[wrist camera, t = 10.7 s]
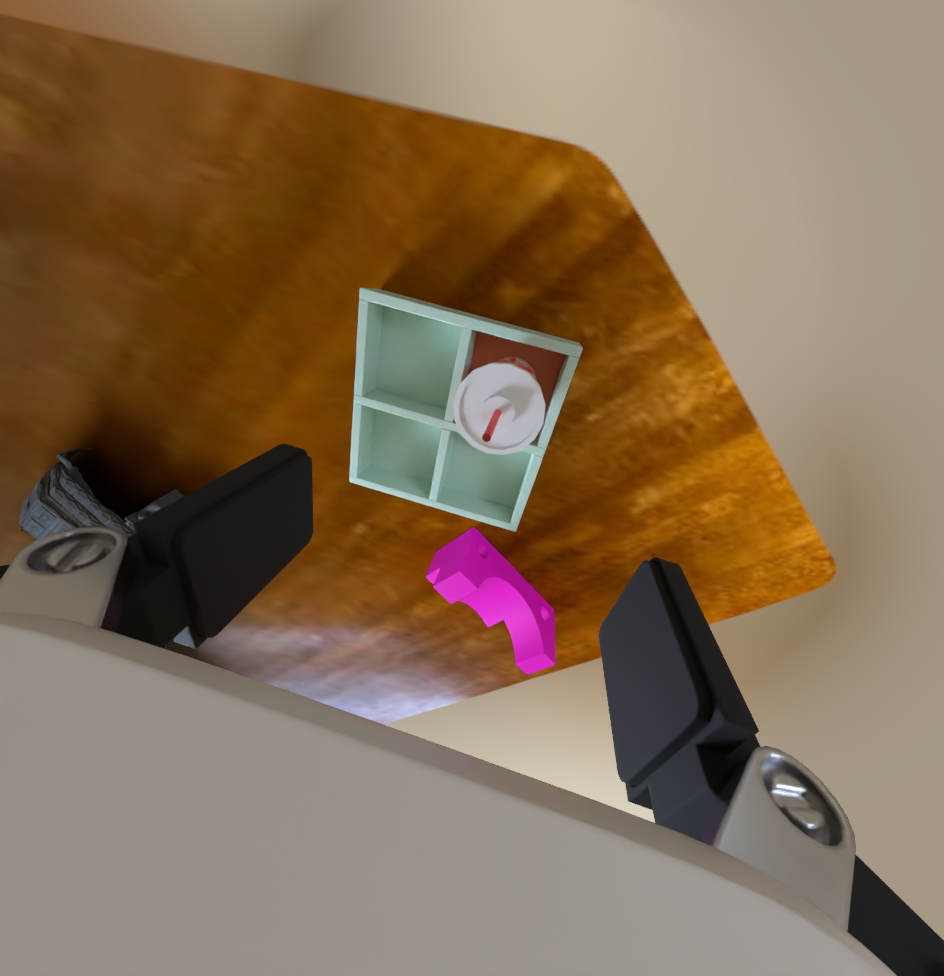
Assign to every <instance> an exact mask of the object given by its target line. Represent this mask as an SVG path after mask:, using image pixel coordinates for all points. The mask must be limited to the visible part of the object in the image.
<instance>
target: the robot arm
mask: <svg viewBox="0 0 944 976" xmlns="http://www.w3.org/2000/svg"><path fill="white" fill-rule="evenodd" d="M133 525H134V528H135V530H136V533H135V534H133V535H131V536H129V537H128V538H127V536H126V535H125V534H124V533H123V531H120V530H118V529H116V528H113V527H106V526H85V527H79V528H72V529H68V530H64V531H61V532H57V533H54V534H51V535H48V536H46V537H44V538H41V539H39V540H37V541H35V542H34V543H32V544H30V545H29V546H27V547H26V548H24V549H23V550H22V551H21V552H20V553H19V554H18V555H17V556H16V557H15V558H14V560H13V561H12V563H11V564H10V565H5V566H0V976H944V940H943V939H941V938H940V937H939V936H938V935H937V934H936V933H935V932H934V931H933V930H932V929H931V928H930V927H929V926H928V925H927V924H926V923H925V922H924V921H923V920H922V919H921V918H920V917H919V916H918V915H917V914H916V913H915V912H914V911H913V910H912V909H910V907H909V906H908V905H906V904H905V902H904V901H903V900H901V898H899V897H898V896H897V895H896V894H895V893H894V892H893V891H892V890H891V889H890V888H889V887H888V886H887V885H886V884H885V883H884V882H883V881H882V880H881V879H880V878H879V877H878V876H877V875H876V874H875V873H874V872H873V871H872V870H871V869H870V868H869V867H868V866H866V865H865V863H864V862H863V861H862V860H861V859H860V858H859V857H858V856H856V855H855V852H856V845H855V836H854V832H853V830H852V828H851V825H850V823H849V820H848V817H847V816H846V814H845V812H844V811H843V809H842V808H841V806H840V804H839V803H838V801H837V800H836V798H835V797H834V796H833V795H832V793H831V792H830V791H829V790H828V788H827V787H826V786H825V785H824V784H823V782H822V781H821V780H820V779H819V778H818V777H816V776H815V775H814V774H813V773H812V772H811V771H810V770H809V769H808V768H807V767H806V766H804V765H803V764H802V763H800V762H799V761H798V760H796V759H795V758H793V757H792V756H790V755H788V754H787V753H785V752H783V751H781V750H779V749H776V748H771V747H768V746H764V747H760V745H759V743H758V741H757V738H756V736H755V734H756V733H757V732H758V731H759V730H758V728H757V726H756V724H755V722H754V719H753V717H752V715H751V713H750V711H749V709H748V707H747V705H746V703H745V701H744V699H743V696H742V694H741V692H740V690H739V688H738V686H737V684H736V682H735V680H734V678H733V676H732V673H731V671H730V669H729V667H728V665H727V663H726V661H725V659H724V657H723V655H722V653H721V651H720V648H719V646H718V644H717V642H716V640H715V638H714V636H713V634H712V632H711V630H710V627H709V625H708V623H707V621H706V619H705V617H704V615H703V613H702V611H701V609H700V607H699V604H698V602H697V600H696V598H695V596H694V594H693V592H692V590H691V588H690V586H689V584H688V582H687V579H686V577H685V575H684V573H683V571H682V569H681V567H680V566H679V565H678V564H676V563H672V562H669V561H666V560H663V559H659V558H652V559H651V560H650V561H647V560H645V561H643V562H642V563H641V565H640V566H639V568H638V569H637V571H636V572H635V574H634V576H633V577H632V579H631V580H630V582H629V583H628V585H627V586H626V588H625V589H624V591H623V593H622V594H621V596H620V597H619V599H618V600H617V602H616V603H615V605H614V606H613V608H612V610H611V611H610V613H609V614H608V616H607V617H606V619H605V620H604V622H603V623H602V625H601V628H600V632H599V641H600V648H601V655H602V662H603V669H604V677H605V683H606V690H607V697H608V706H609V713H610V720H611V727H612V734H613V741H614V748H615V756H616V762H617V769H618V775H619V777H620V779H621V780H622V781H623V782H625V783H626V790H627V796H628V801H629V802H632V803H635V804H637V805H641V806H643V807H646V808H649V809H652V810H653V814H654V818H655V823H653V822H650V821H648V820H645V819H642V818H640V817H637V816H634V815H632V814H629V813H626V812H624V811H621V810H619V809H616V808H613V807H611V806H608V805H606V804H603V803H600V802H597V801H595V800H592V799H589V798H587V797H584V796H581V795H578V794H576V793H573V792H570V791H567V790H565V789H562V788H559V787H556V786H553V785H551V784H548V783H545V782H542V781H540V780H537V779H534V778H531V777H528V776H526V775H523V774H520V773H517V772H514V771H512V770H509V769H506V768H503V767H500V766H498V765H495V764H492V763H489V762H487V761H484V760H481V759H478V758H475V757H473V756H470V755H467V754H464V753H461V752H459V751H456V750H453V749H450V748H447V747H445V746H442V745H439V744H436V743H433V742H431V741H427V740H425V739H422V738H419V737H416V736H414V735H411V734H408V733H405V732H402V731H399V730H396V729H394V728H391V727H388V726H385V725H383V724H380V723H377V722H374V721H371V720H368V719H366V718H363V717H360V716H357V715H354V714H351V713H348V712H346V711H343V710H340V709H337V708H334V707H331V706H329V705H326V704H323V703H320V702H317V701H314V700H312V699H309V698H306V697H303V696H300V695H297V694H294V693H292V692H289V691H286V690H283V689H280V688H277V687H274V686H271V685H268V684H266V683H263V682H260V681H257V680H254V679H251V678H248V677H245V676H243V675H240V674H237V673H234V672H231V671H228V670H225V669H222V668H219V667H217V666H214V665H211V664H208V663H205V662H202V661H199V660H196V659H194V658H191V657H188V656H185V655H182V654H179V653H176V652H173V651H169V650H166V649H164V647H165V646H166V645H167V644H168V643H169V642H170V641H172V640H173V639H174V642H176V643H179V644H182V645H185V646H188V647H191V648H193V649H197V648H198V647H199V646H200V645H201V644H202V643H203V642H204V641H205V640H206V639H207V638H208V637H209V638H211V637H214V636H216V635H217V634H218V633H219V632H220V631H221V630H222V629H223V628H224V627H225V626H226V625H227V624H228V623H229V622H230V621H231V620H232V619H233V618H234V617H235V616H236V615H237V614H238V613H239V612H240V611H241V610H242V609H243V608H244V607H245V606H246V605H247V604H248V603H249V602H250V601H251V600H252V599H253V598H254V597H255V596H256V595H257V594H258V593H259V592H260V591H261V590H262V589H263V588H264V587H265V586H266V585H267V584H268V583H269V582H270V581H271V580H272V579H273V578H274V577H275V576H276V575H277V574H278V573H279V572H280V571H281V570H282V569H283V568H284V567H285V566H286V565H287V564H288V563H289V562H290V561H291V560H292V559H293V558H294V557H295V556H296V555H297V554H298V553H299V552H300V551H301V550H302V549H303V548H304V547H305V546H306V545H307V544H308V543H309V541H310V540H311V537H312V534H313V500H312V460H311V458H310V457H309V456H308V455H307V452H306V451H305V450H304V449H300V448H297V447H294V446H291V445H287V444H281V445H278V446H277V447H275V448H273V449H271V450H269V451H267V452H265V453H264V454H262V455H260V456H258V457H256V458H254V459H252V460H251V461H249V462H247V463H245V464H243V465H241V466H240V467H238V468H236V469H234V470H232V471H230V472H228V473H227V474H225V475H223V476H221V477H219V478H217V479H215V480H214V481H212V482H210V483H208V484H206V485H204V486H202V487H201V488H199V489H197V490H195V491H193V492H191V493H189V494H188V495H186V496H184V497H182V498H180V499H178V500H176V501H175V502H173V503H171V504H169V505H167V506H165V507H163V508H162V509H160V510H158V511H156V512H154V513H152V514H150V515H149V516H147V517H145V518H143V519H141V520H139V521H137V522H136V523H134V524H133Z"/></svg>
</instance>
